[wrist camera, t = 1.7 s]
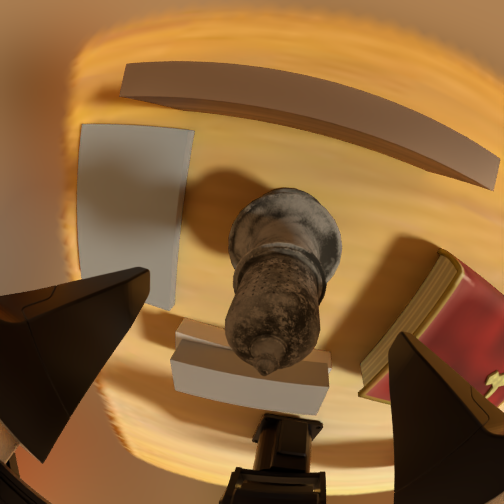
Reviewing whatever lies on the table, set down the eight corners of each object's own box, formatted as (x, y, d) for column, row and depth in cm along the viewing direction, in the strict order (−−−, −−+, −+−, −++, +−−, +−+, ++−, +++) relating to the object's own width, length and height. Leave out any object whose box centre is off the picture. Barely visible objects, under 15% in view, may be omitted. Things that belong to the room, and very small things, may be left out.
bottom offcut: (314, 379, 22) (314, 399, 20) (185, 348, 23) (175, 365, 21) (329, 347, 21) (331, 368, 18) (186, 314, 22) (175, 331, 19)
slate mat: (174, 304, 21) (169, 311, 20) (88, 273, 21) (81, 278, 21) (194, 130, 16) (188, 130, 15) (90, 124, 16) (82, 124, 15)
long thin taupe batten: (428, 171, 14) (493, 191, 8) (183, 110, 15) (119, 96, 9) (433, 150, 13) (500, 158, 7) (188, 88, 15) (126, 63, 8)
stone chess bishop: (223, 215, 18) (112, 328, 7) (301, 164, 16) (310, 205, 5) (274, 286, 19) (239, 445, 8) (350, 244, 17) (409, 393, 6)
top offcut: (316, 392, 20) (316, 415, 18) (185, 370, 21) (175, 390, 19) (327, 363, 18) (329, 387, 16) (181, 338, 20) (170, 359, 17)
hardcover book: (438, 243, 16) (467, 268, 12) (536, 324, 16) (553, 345, 12) (352, 362, 21) (358, 399, 17) (474, 398, 21) (484, 422, 17)
